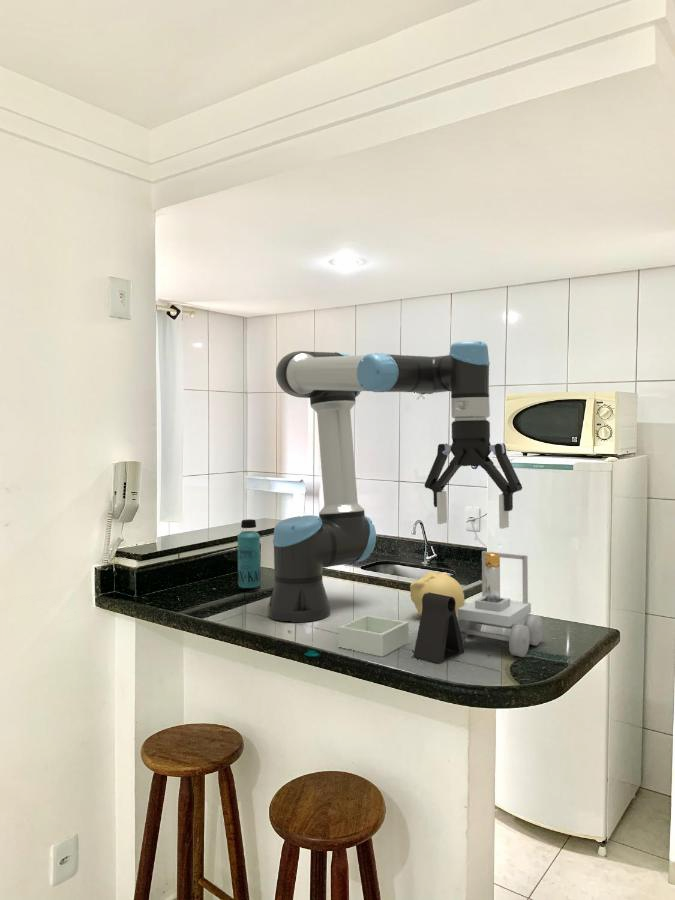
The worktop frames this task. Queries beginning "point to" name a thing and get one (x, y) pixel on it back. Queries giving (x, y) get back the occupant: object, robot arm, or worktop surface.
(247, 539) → the beverage bottle
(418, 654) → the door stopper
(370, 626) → the tray
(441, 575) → the yellow rounded lump
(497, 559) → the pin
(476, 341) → the robot arm
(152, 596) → the worktop surface
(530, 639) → the trolley
